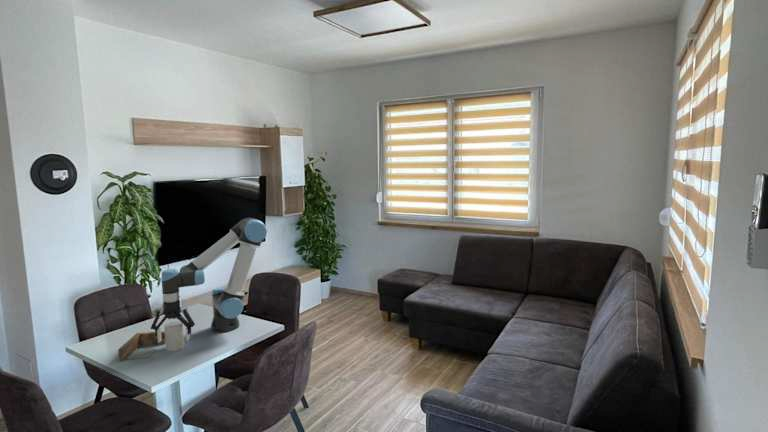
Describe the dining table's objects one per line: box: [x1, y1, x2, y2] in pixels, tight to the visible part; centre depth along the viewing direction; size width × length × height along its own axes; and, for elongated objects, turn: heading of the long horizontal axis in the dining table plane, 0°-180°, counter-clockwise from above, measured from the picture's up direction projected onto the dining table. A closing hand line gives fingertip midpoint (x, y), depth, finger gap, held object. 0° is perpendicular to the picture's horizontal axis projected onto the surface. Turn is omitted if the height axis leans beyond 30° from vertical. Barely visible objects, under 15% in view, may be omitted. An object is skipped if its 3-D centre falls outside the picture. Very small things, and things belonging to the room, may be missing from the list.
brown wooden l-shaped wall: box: [117, 330, 166, 362], centre depth 210 cm, size 14×20×6 cm
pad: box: [126, 348, 158, 360], centre depth 207 cm, size 10×10×1 cm
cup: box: [164, 321, 185, 352], centre depth 213 cm, size 8×8×12 cm
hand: (173, 341), depth 213 cm, fingers open, 13 cm apart
